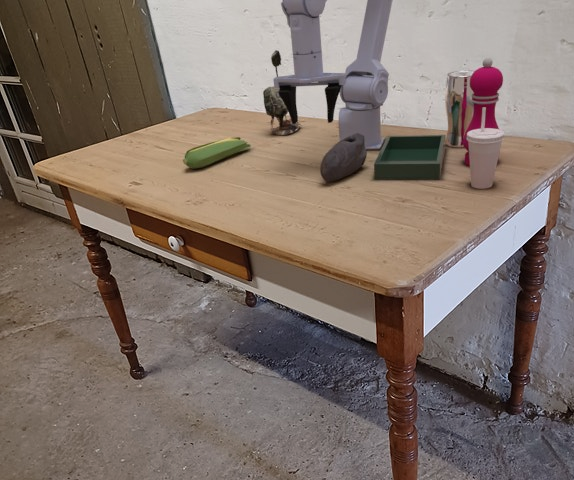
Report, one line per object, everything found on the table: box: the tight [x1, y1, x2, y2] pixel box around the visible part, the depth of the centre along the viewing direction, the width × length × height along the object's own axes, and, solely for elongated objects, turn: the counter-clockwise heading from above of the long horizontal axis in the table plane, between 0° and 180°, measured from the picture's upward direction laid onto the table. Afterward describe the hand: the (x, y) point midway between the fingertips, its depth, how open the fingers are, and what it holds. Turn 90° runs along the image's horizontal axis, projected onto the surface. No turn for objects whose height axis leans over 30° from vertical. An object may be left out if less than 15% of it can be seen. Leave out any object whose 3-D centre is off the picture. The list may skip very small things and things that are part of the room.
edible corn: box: [182, 136, 252, 170], centre depth 134 cm, size 5×20×5 cm, turn 135°
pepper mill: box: [463, 57, 504, 167], centre depth 111 cm, size 7×7×20 cm
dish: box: [373, 134, 447, 180], centre depth 119 cm, size 13×19×3 cm, turn 164°
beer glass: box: [444, 69, 475, 148], centre depth 124 cm, size 7×7×15 cm
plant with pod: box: [262, 49, 303, 136], centre depth 147 cm, size 8×11×20 cm
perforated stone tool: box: [319, 133, 368, 182], centre depth 116 cm, size 15×5×7 cm, turn 141°
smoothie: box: [466, 107, 505, 190], centre depth 102 cm, size 6×6×14 cm
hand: (312, 122), depth 118 cm, fingers open, 7 cm apart
